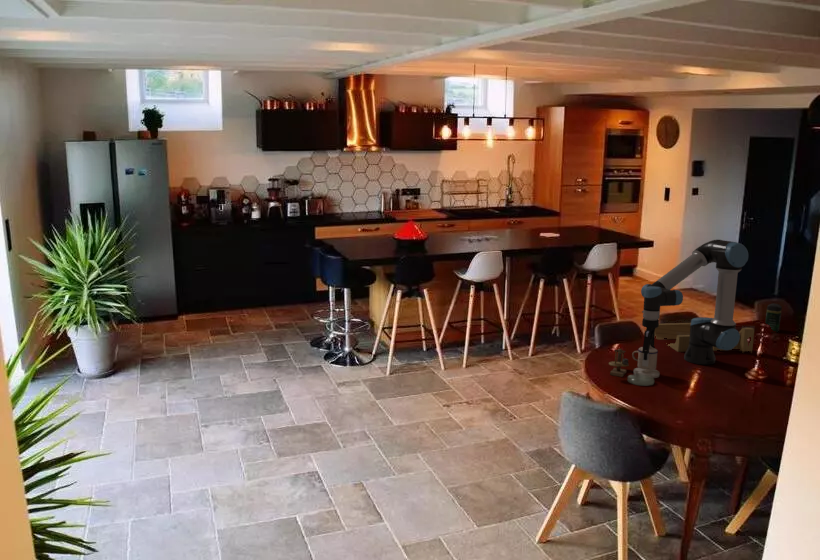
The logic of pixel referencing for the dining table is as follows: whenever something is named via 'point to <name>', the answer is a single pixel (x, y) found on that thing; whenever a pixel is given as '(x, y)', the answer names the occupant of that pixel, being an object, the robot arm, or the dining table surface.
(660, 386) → the dining table surface
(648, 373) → the dish
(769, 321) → the coffee jar
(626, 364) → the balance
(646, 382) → the dish
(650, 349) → the teacup with lid
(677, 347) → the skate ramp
